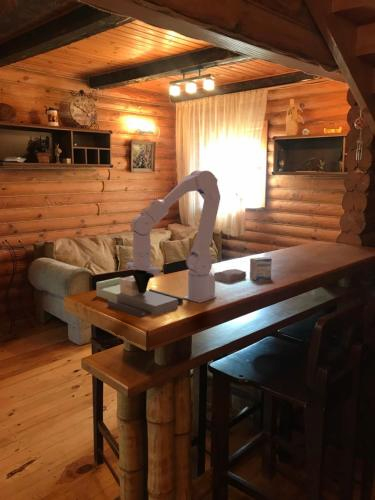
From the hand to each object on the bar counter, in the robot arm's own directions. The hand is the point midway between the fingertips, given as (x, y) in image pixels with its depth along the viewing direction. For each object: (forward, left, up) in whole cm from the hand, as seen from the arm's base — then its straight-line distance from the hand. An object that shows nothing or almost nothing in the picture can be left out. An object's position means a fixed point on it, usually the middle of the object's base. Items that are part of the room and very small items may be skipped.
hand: (142, 292), depth 144 cm
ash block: (0, -5, -1) cm, 5 cm away
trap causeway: (0, -4, -4) cm, 5 cm away
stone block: (-47, 0, -5) cm, 48 cm away
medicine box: (-57, +10, -4) cm, 57 cm away
